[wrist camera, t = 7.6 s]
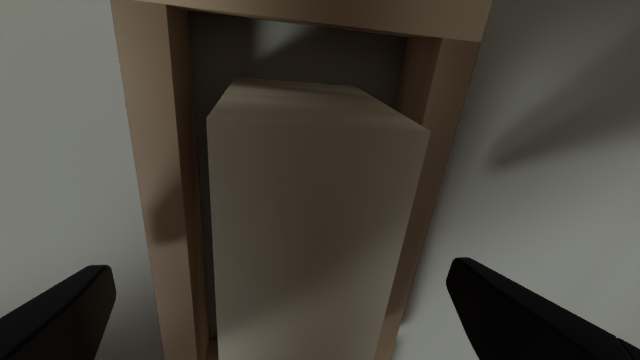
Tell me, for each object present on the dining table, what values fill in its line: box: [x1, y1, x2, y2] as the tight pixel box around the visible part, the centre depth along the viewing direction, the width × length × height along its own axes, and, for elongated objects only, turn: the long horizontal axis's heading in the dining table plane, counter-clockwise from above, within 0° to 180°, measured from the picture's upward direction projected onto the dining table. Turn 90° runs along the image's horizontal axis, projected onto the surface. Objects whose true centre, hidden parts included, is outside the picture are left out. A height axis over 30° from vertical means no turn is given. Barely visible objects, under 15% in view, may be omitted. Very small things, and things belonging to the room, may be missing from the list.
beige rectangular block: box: [206, 77, 431, 360], centre depth 9 cm, size 4×9×5 cm, turn 174°
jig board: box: [110, 0, 493, 360], centre depth 12 cm, size 8×23×2 cm, turn 174°
